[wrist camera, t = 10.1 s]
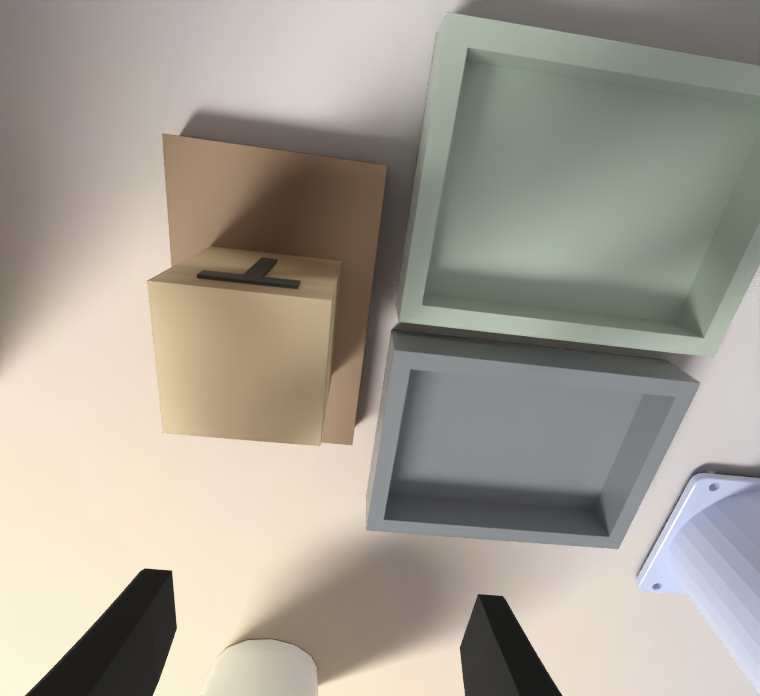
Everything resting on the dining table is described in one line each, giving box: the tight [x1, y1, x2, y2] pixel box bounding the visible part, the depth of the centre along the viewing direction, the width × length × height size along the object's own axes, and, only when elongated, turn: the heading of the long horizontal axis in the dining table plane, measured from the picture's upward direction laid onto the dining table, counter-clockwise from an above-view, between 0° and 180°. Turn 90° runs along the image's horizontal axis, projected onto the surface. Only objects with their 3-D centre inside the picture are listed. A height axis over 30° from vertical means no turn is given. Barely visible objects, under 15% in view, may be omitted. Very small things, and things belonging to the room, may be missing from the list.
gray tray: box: [366, 330, 700, 549], centre depth 18 cm, size 12×9×2 cm
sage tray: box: [395, 12, 760, 357], centre depth 14 cm, size 12×9×2 cm
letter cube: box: [147, 246, 342, 446], centre depth 13 cm, size 4×5×4 cm
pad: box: [162, 134, 387, 445], centre depth 16 cm, size 7×11×1 cm, turn 173°
